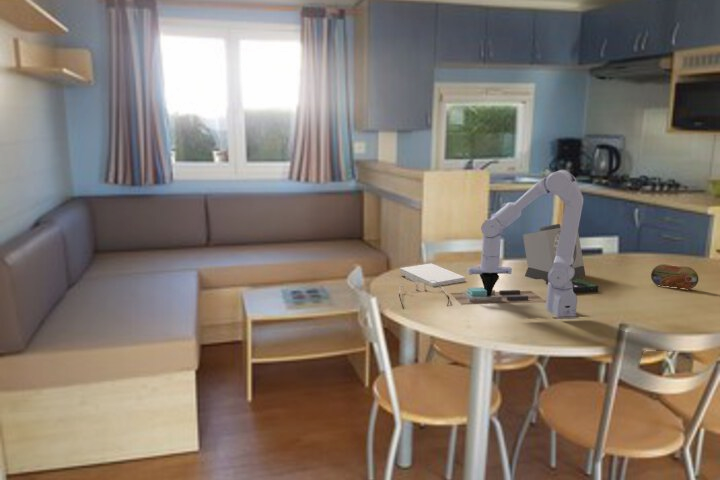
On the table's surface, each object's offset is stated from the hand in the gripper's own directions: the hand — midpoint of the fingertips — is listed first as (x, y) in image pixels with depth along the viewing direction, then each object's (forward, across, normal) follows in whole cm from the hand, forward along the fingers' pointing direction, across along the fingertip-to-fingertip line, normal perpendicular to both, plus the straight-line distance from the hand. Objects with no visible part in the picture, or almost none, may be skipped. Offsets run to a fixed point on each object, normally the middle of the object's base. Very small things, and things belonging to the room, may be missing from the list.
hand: (487, 294), depth 187 cm
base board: (+2, -4, 0) cm, 4 cm away
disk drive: (+3, -35, -10) cm, 37 cm away
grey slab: (+1, +2, 0) cm, 3 cm away
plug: (+1, +4, 0) cm, 4 cm away
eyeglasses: (+3, +21, -2) cm, 22 cm away
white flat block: (+3, +12, -26) cm, 28 cm away
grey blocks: (+1, -9, 0) cm, 9 cm away
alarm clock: (+2, -37, -28) cm, 47 cm away
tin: (+2, -74, -9) cm, 75 cm away
